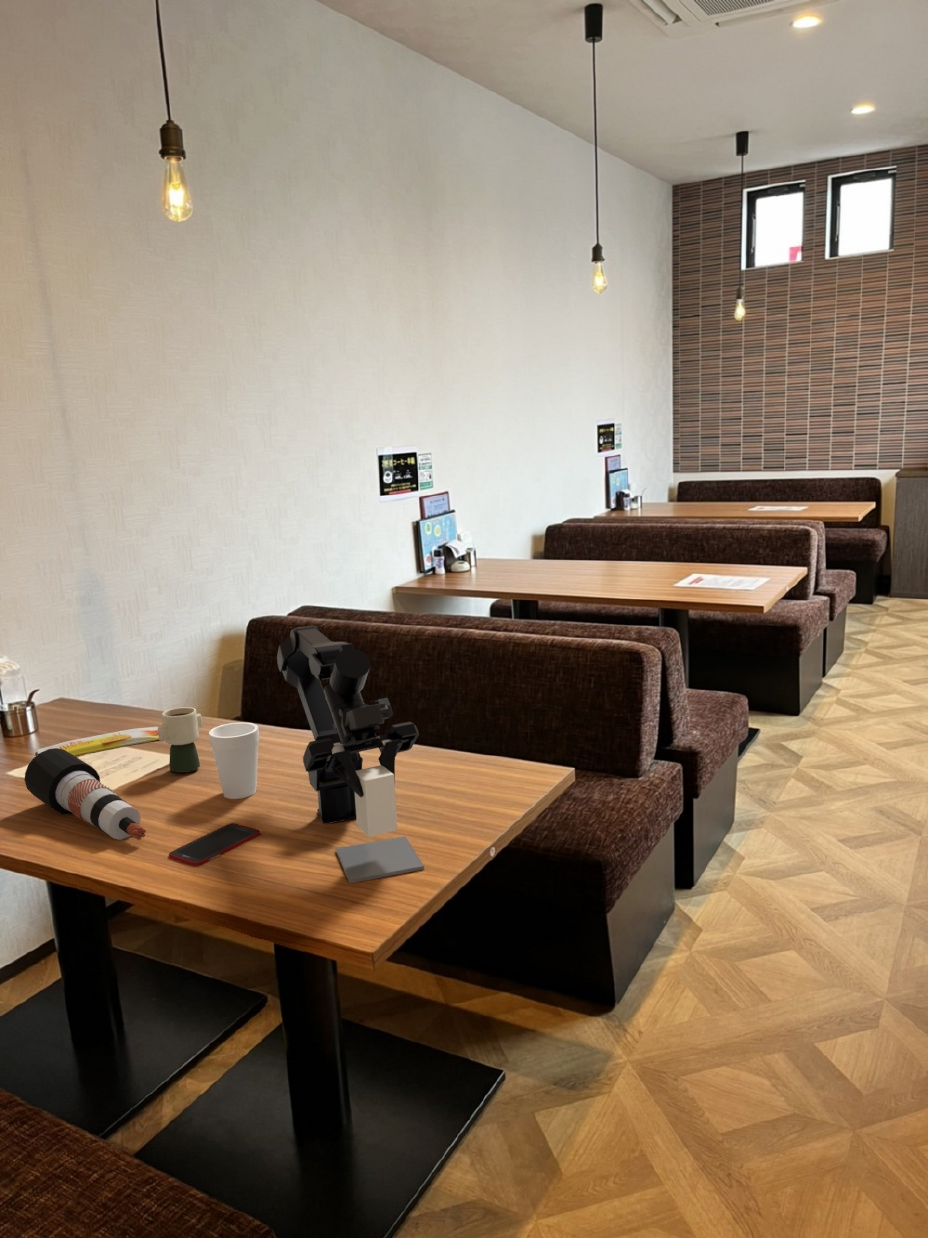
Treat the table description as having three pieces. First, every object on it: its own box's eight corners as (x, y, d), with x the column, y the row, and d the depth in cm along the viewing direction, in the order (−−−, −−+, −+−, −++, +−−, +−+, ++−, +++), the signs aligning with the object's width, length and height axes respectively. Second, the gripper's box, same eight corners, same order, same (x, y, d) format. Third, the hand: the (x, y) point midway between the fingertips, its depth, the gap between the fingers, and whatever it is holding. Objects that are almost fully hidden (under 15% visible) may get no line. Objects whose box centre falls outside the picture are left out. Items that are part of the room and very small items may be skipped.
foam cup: (273, 791, 184) (267, 728, 182) (232, 805, 178) (226, 741, 175) (246, 780, 191) (240, 719, 188) (206, 794, 184) (199, 731, 182)
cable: (131, 873, 162) (102, 836, 156) (42, 808, 184) (14, 773, 178) (176, 831, 167) (149, 794, 161) (84, 772, 189) (58, 737, 183)
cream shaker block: (357, 826, 152) (353, 771, 151) (385, 819, 155) (381, 765, 153) (368, 837, 148) (364, 780, 146) (397, 829, 150) (394, 774, 148)
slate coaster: (349, 883, 145) (349, 879, 145) (336, 851, 156) (335, 848, 156) (424, 869, 149) (424, 865, 149) (405, 839, 160) (405, 836, 160)
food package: (40, 757, 206) (35, 745, 215) (41, 767, 206) (36, 754, 215) (166, 732, 219) (156, 722, 228) (167, 741, 220) (157, 730, 228)
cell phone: (263, 835, 165) (262, 830, 165) (197, 869, 153) (196, 863, 153) (232, 826, 169) (232, 821, 169) (166, 859, 157) (166, 853, 157)
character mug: (195, 759, 205) (189, 702, 202) (216, 765, 201) (210, 707, 198) (153, 775, 196) (146, 716, 193) (174, 781, 192) (167, 721, 189)
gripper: (302, 693, 146) (332, 782, 139) (411, 674, 154) (444, 757, 147) (291, 728, 154) (318, 813, 147) (394, 708, 163) (425, 788, 155)
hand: (377, 792), depth 149 cm, fingers closed on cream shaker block, 5 cm apart
